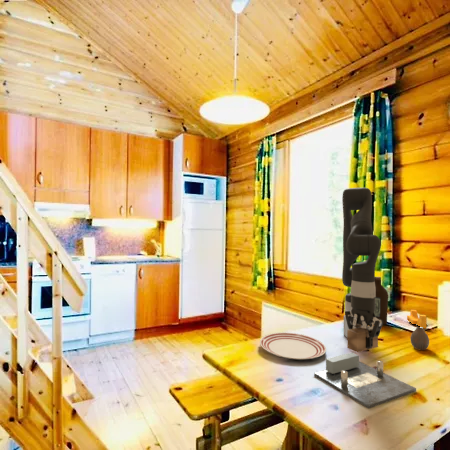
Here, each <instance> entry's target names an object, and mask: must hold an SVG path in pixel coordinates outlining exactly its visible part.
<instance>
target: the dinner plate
mask: <svg viewBox="0 0 450 450" xmlns="http://www.w3.org/2000/svg"><path fill="white" fill-rule="evenodd" d="M259 344H260V346H261V348H263V350H265V351H266V352H267V353H269V354H271V355H274V356H277V357H280V358H282V359H283V358H284V359H287V360H288V359H289V360H297V361H298V360H299V361H300V360H301V361H302V360H310V359H317V358H319V357H321V356H323V355H325V353H326V352H327V346H326V345H325V344H324V343H323V342H321V341H320V340H319V339H317V338H314V337H312V336H308V335H305V334H300V333H295V332H274V333H269V334H267V335H265V336H262V337H261V338H260V339H259Z"/></svg>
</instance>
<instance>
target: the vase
mask: <svg viewBox="0 0 450 450" xmlns="http://www.w3.org/2000/svg"><path fill="white" fill-rule="evenodd" d="M410 345H411V346H412V347H413V348H415V350H419V351H425V350H427V349H428V348H429V345H430V338H429V336H428V334H427V333H426V331H425V330H424V328H420V327H418V326H417V327H416V328H415V330H414V331H412V333H411V335H410Z"/></svg>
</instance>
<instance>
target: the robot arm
mask: <svg viewBox="0 0 450 450" xmlns="http://www.w3.org/2000/svg"><path fill="white" fill-rule="evenodd" d="M372 196H373V195H372V191H371V190H370V188H368V187H351V188H345V189H344V190H343V191H342V215H343V230H342V232H343V233H342V249H343V251H342V253H343V256H342V257H343V259H342V274H341V277H342V278H341V279H342V284H343V286H345V287H347V288H348V287H349V288H350V293H346V294H345V298H344V299H345V300H344V302H345V305H344V306H345V311H344V315H343V336H345V338H347V330H349V329H354V328H359V327H363V329H364V330H365V332H366V348H367V349H368V350H371V349H370V348H372V347H373V337H377V336H378V337H379V336H380V334H381V331H382V328H383V320H379V319H377V318H376V316H375V314H374V311H375V300H376V289H375V277H376V275H375V274H376V273H375V272H376V265H377V259H378V256H379V253H380V251H381V248H382V241H381V239H380V238H379V236H378V235H376V234H373V233H374V232H373V225H372V212H373V208H372V207H373V205H372V204H373V199H372V198H373V197H372ZM352 211H357V212H355V213H354V215H353V214H352ZM360 256H364V257H367V256H368V258H367V259H366V260H364V261H360V262H355V261H356V260H357V259H358V258H359V257H360ZM354 262H355V263H354ZM373 321H374V323H373ZM367 326H369V327H367ZM369 331H370V333H369ZM372 349H373V348H372Z"/></svg>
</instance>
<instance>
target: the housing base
mask: <svg viewBox="0 0 450 450" xmlns="http://www.w3.org/2000/svg"><path fill="white" fill-rule="evenodd" d="M313 376H314V377H315V378H317V379H318V380H320V381H322V382H323V383H325V384H327V385H329V386H330V387H332V388H334V389H335V390H337V391H338V392H341V394H343V395H345V396H347V397H348V398H350V399H352V400H354V401H355V402H356V403H358V404H360V405H362V406H363V407H365V408H366V409H368V410H369V409H372V408H375V407H377V406H380V405H382V404H385V403H388V402H392V401H394V400H397V399H400V398H402V397H405V396H407V395H410V394H413V393H416V392H417V388H416V387H415V386H413V385H410V384H408V383H406V382H405V381H401V380H399V379H398V378H395V377H393V376H391V375H389V374H387V373H384V362H383V361H382V360H377V361H376V368H374V367H372V366H370V365H368V364H365V363H363V362H361V361H359V367H356V368H352V369H348V370H342V371H341V372H338V373H334V374H332V373H330V372H328V371H326V369H323V370H320V371H317V372H314V373H313Z"/></svg>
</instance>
